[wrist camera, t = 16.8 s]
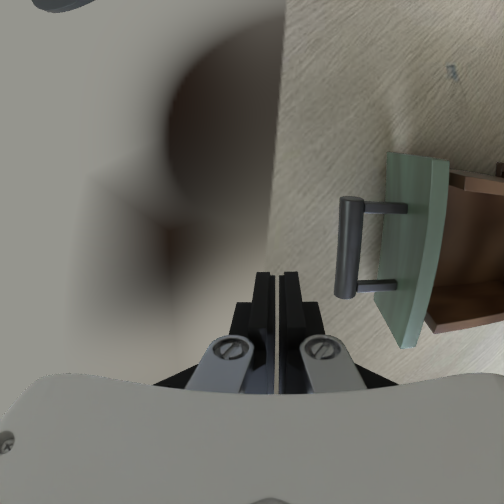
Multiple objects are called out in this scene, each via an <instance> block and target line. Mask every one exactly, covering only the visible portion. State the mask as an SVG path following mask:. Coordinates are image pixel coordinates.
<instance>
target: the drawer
mask: <svg viewBox="0 0 504 504" xmlns="http://www.w3.org/2000/svg"><path fill="white" fill-rule="evenodd" d="M449 166H450V162H449V160H445V159H439V158H433V157H426V156H419V155H412V154H404V153H395V152H387V171H386V195H385V202H375V201H364V199H363V198H360V197H354V196H343V197H340V204H339V229H338V247H337V262H336V274H335V286H334V295H335V296H336V297H338V298H341V299H351V298H353V297H354V296H355V295H356V292H357V293H360V292H375V294H374V301H375V303H376V305H377V307H378V308H379V310H380V312H381V314H382V316H383V317H384V319H385V321H386V323H387V325H388V327H389V329H390V330H391V332H392V334H393V336H394V338H395V340H396V342H397V344H398V346H399V348H400V349H405V348H412V347H415V346H416V344H417V341H418V338H419V335H420V332H421V328H422V325H423V322H424V321H425V322H426V323H427V325H428V326H429V328H430V329H431V331H432V332H433V334H438V333H444V332H450V331H456V330H461V329H467V328H472V327H477V326H481V325H486V324H491V323H495V322H499V321H503V320H504V178H501V177H496V176H491V175H485V174H480V173H474V172H468V171H462V170H455V169H449ZM363 213H378V214H384V224H383V234H382V244H381V252H380V261H379V268H378V275H377V280H358V271H359V262H360V252H361V241H362V229H363ZM357 280H358V281H357Z"/></svg>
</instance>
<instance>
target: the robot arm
mask: <svg viewBox="0 0 504 504" xmlns="http://www.w3.org/2000/svg"><path fill="white" fill-rule="evenodd" d="M274 372H275V275H270V272H257V274H256V279H255V286H254V292H253V300H252V302H237V304H236V308H235V312H234V315H233V320H232V324H231V328H230V332H229V335H227V336H222V337H219V338H217V339H216V340H214V341H213V342H212V343H211V344H210V345H209V347H208V348H207V350H206V352H205V354H204V355H203V357H202V359H201V361H200V362H199V364H197V365H195V366H193V367H191V368H188V369H186V370H184V371H182V372H180V373H178V374H176V375H174V376H171V377H169V378H167V379H165V380H162V381H160V382H158V383H156V384H154V385H146V384H141V383H135V382H129V381H123V380H117V379H111V378H106V377H100V376H94V375H86V374H71V373H66V374H54V375H48V376H45V377H42V378H40V379H38V380H36V381H35V382H34V383H32V384H31V385H30V386H29V387H28V388H27V389H26V390H25V391H24V392H23V393H22V394H21V395H20V396H19V397H18V398H17V399H16V401H15V402H14V403H13V404H12V405H11V406H10V408H9V409H8V410H7V412H6V413H5V414H4V415H3V417H2V418H1V419H0V504H504V376H503V375H499V374H493V373H466V374H459V375H452V376H447V377H442V378H437V379H431V380H425V381H420V382H414V383H409V384H403V385H399V384H397V383H395V382H392V381H390V380H388V379H386V378H384V377H382V376H380V375H378V374H376V373H374V372H371V371H369V370H367V369H365V368H363V367H361V366H359V365H357V364H355V363H354V362H353V360H352V358H351V356H350V354H349V352H348V351H347V349H346V347H345V345H344V344H343V342H342V341H341V340H339V339H338V338H336V337H333V336H331V335H325V331H324V327H323V322H322V318H321V314H320V310H319V306H318V302H302V296H301V290H300V284H299V278H298V272H284V275H279V394H284V395H268V394H274Z"/></svg>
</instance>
